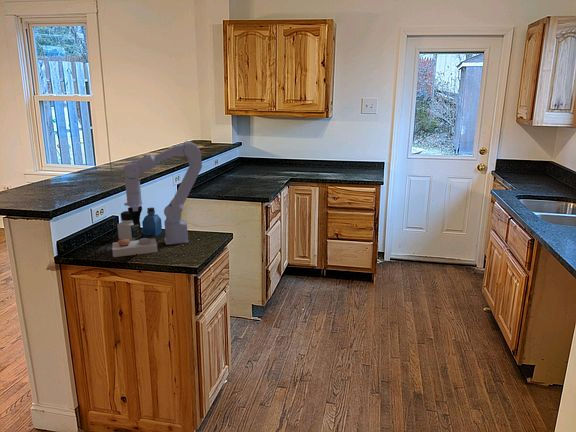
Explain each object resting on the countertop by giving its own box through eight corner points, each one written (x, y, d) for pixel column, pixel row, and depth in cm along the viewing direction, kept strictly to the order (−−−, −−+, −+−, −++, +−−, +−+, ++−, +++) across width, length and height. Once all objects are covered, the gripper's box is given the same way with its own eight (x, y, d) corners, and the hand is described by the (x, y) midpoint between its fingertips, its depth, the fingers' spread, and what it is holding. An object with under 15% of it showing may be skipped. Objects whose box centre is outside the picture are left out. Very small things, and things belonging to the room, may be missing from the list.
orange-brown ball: (130, 247, 189) (129, 238, 188) (130, 250, 185) (129, 241, 184) (118, 248, 188) (118, 239, 187) (118, 251, 184) (118, 242, 183)
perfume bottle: (155, 235, 208) (153, 210, 205) (143, 235, 209) (141, 209, 206) (162, 232, 214) (160, 207, 211) (149, 231, 215) (147, 206, 212)
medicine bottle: (132, 240, 202) (129, 214, 198) (118, 239, 203) (115, 213, 200) (141, 235, 208) (139, 210, 205) (128, 234, 210) (125, 209, 207)
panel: (155, 245, 195) (155, 238, 194) (157, 252, 187) (157, 245, 186) (113, 249, 190) (112, 242, 189) (113, 257, 181) (112, 249, 180)
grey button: (150, 246, 192) (149, 237, 191) (151, 249, 188) (150, 240, 187) (139, 247, 191) (138, 238, 190) (139, 250, 186) (139, 241, 186)
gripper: (123, 189, 194) (126, 220, 198) (123, 196, 181) (126, 229, 185) (140, 188, 197) (143, 219, 200) (142, 195, 183) (145, 227, 187)
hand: (136, 224), depth 193 cm, fingers closed
